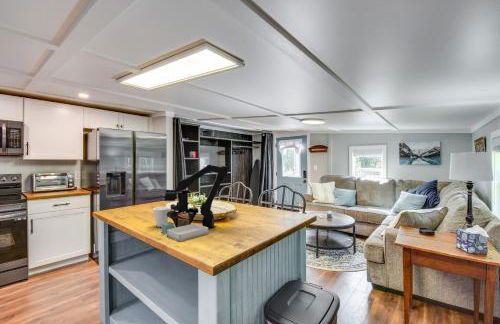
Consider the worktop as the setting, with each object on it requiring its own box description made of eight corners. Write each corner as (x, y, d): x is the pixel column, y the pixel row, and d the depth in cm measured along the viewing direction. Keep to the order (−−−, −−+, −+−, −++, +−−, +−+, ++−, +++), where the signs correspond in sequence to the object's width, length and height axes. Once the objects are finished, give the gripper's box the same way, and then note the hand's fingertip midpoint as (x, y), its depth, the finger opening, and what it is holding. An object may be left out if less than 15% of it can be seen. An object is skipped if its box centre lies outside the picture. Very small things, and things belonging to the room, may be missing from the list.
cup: (164, 228, 152) (164, 210, 151) (149, 227, 154) (149, 209, 153) (173, 224, 161) (172, 207, 161) (158, 223, 163) (158, 206, 163)
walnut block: (184, 227, 155) (184, 219, 155) (189, 228, 151) (189, 220, 151) (177, 228, 151) (177, 220, 151) (181, 230, 148) (181, 221, 148)
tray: (195, 229, 150) (195, 223, 150) (208, 233, 141) (208, 227, 141) (166, 236, 137) (166, 229, 137) (179, 241, 128) (179, 234, 128)
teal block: (169, 230, 148) (169, 222, 148) (174, 232, 144) (173, 223, 144) (161, 232, 144) (161, 223, 144) (165, 234, 141) (165, 225, 140)
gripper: (189, 197, 163) (189, 221, 164) (161, 201, 150) (162, 227, 150) (199, 199, 156) (199, 224, 156) (171, 203, 142) (171, 230, 142)
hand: (183, 226), depth 151 cm, fingers open, 9 cm apart
